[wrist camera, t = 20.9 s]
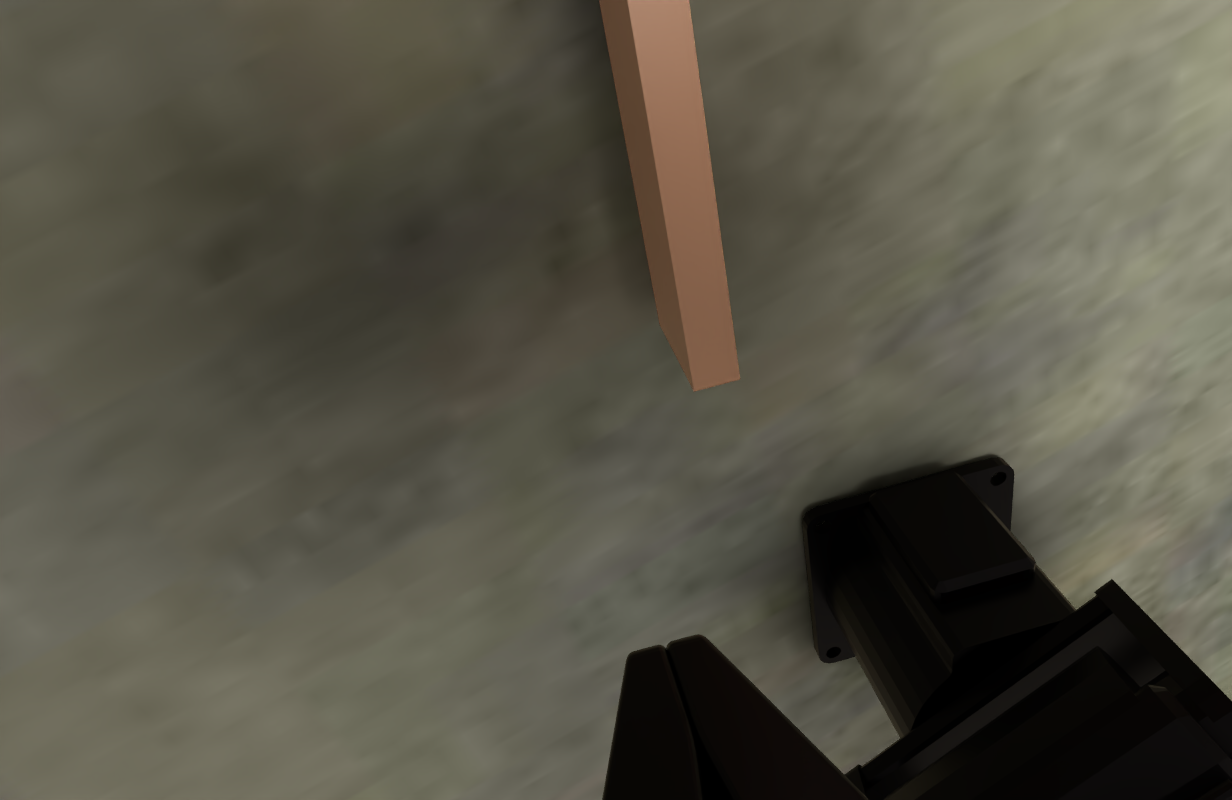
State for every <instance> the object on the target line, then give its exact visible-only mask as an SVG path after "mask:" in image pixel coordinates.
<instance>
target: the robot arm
mask: <svg viewBox="0 0 1232 800" xmlns="http://www.w3.org/2000/svg"><path fill="white" fill-rule="evenodd" d="M996 473H997V474H996ZM994 474H996V475H995V476H993V475H994ZM992 476H993V477H992ZM1013 485H1014V471H1013V469H1012V468H1011V467H1010V466H1009V465H1008V464H1007V463H1006V462H1005V461H1004V460H1003V459H1002V458H998V457H997V458H990V459H987V460H983V461H979V462H976V463H972V464H968V465H965V466H961V467H958V468H954V469H950V470H947V471H943V472H939V473H936V474H932V475H929V476H925V477H921V478H918V479H914V480H910V481H907V482H903V483H900V484H896V485H892V486H889V487H885V488H881V489H878V490H874V491H871V492H867V493H863V494H860V495H856V496H852V497H849V498H845V499H842V500H838V501H834V502H831V503H827V504H824V505H820V506H816V507H814V508H812V509H810V510H809V511H808V512H807V513H806V514H805V515H804V517H803V520H802V528H803V538H804V548H805V558H806V568H807V578H808V588H809V597H810V607H811V617H812V627H813V637H814V647H815V650H816V652H817V654H818V656H819V658H820V660H821V661H823V662H824V663H834V662H838V661H841V660H845V659H848V658H852V657H855V656H856V658H857V660H858V662H859V663H860V665H861V667H862V669H863V671H864V673H865V674H866V676H867V678H868V680H869V682H870V684H871V685H872V687H873V689H874V691H875V693H876V695H877V696H878V698H879V700H880V702H881V704H882V705H883V707H884V709H885V711H886V713H887V715H888V716H889V718H890V720H891V722H892V724H893V726H894V727H895V729H896V731H897V733H898V735H899V737H900V739H899V740H898V741H896V742H895V743H893V744H892V745H891V746H889V747H888V748H887V749H885V750H884V751H882V752H881V753H880V754H878V755H877V756H876V757H874V758H873V759H871V760H870V761H869V762H867V763H866V764H865V765H863V766H861V765H857V766H856V767H854V768H853V769H852V770H850V771H849V772H848V773H846V774H845V775H844V774H843V773H842V772H841V771H840V770H839V769H838V768H837V767H836V766H835V765H834V764H833V763H832V762H831V761H830V760H829V759H828V758H827V757H826V756H825V755H824V754H823V753H822V752H821V751H820V750H819V749H818V748H817V747H816V746H815V745H814V744H813V743H812V742H811V741H810V740H809V739H808V738H807V737H806V736H805V735H804V734H803V733H802V732H801V731H800V730H799V729H798V728H797V727H796V726H795V725H794V724H793V723H792V722H791V721H790V720H789V719H788V718H787V717H786V716H785V715H784V714H783V713H782V712H781V711H780V710H779V709H778V708H777V707H776V706H775V705H774V704H773V703H772V702H771V701H770V700H769V699H768V698H767V697H766V696H765V695H764V694H763V693H762V692H761V691H760V690H759V689H758V688H757V687H756V686H755V685H754V684H753V683H752V682H751V681H750V680H749V679H748V678H747V677H746V676H745V675H743V674H742V673H741V672H740V671H739V670H738V669H737V668H736V667H735V666H734V665H733V664H732V663H731V662H730V661H729V660H728V659H727V658H726V657H725V656H724V655H723V654H722V653H721V652H720V651H719V650H718V649H717V648H716V647H715V646H714V645H713V644H712V643H711V642H710V641H709V640H708V639H707V638H706V637H704V636H703V635H700V634H698V635H693V636H689V637H685V638H681V639H678V640H674V641H671V642H670V643H669V644H668V645H667V648H665V647H664V646H662V645H655V646H652V647H648V648H644V649H640V650H637V651H633V652H631V653H630V654H629V655H628V657H627V660H626V664H625V670H624V676H623V682H622V688H621V693H620V699H619V705H618V711H617V717H616V723H615V728H614V734H613V740H612V746H611V752H610V758H609V763H608V769H607V775H606V781H605V787H604V792H603V798H602V800H1232V701H1231V700H1230V699H1229V698H1228V697H1227V696H1226V695H1225V694H1224V693H1223V692H1222V691H1221V690H1220V689H1219V688H1218V687H1217V686H1216V685H1215V684H1214V683H1213V682H1212V681H1211V680H1210V679H1209V677H1208V676H1207V675H1206V674H1205V673H1204V672H1203V671H1202V670H1201V669H1200V668H1199V667H1198V666H1197V665H1196V664H1195V663H1194V662H1193V661H1192V660H1191V659H1190V658H1189V657H1188V656H1187V655H1186V654H1185V653H1184V652H1183V651H1182V650H1181V649H1180V648H1179V647H1178V646H1177V645H1176V644H1175V643H1174V642H1173V641H1172V640H1171V639H1170V638H1169V637H1168V636H1167V635H1166V634H1165V633H1164V632H1163V631H1162V630H1161V629H1160V627H1159V626H1158V625H1157V624H1156V623H1155V622H1154V621H1153V620H1152V619H1151V618H1150V617H1149V616H1148V615H1147V614H1146V613H1145V612H1144V611H1143V610H1142V609H1141V608H1140V607H1139V606H1138V605H1137V604H1136V603H1135V602H1134V601H1133V600H1132V599H1131V598H1130V597H1129V596H1128V595H1127V594H1126V593H1125V592H1124V591H1123V590H1122V589H1121V588H1120V587H1119V586H1118V585H1117V584H1116V583H1115V582H1114V581H1113V580H1112V579H1111V580H1110V581H1109V582H1107V583H1106V584H1105V585H1103V586H1102V587H1100V588H1099V589H1098V590H1096V591H1095V594H1096V596H1095V597H1093V598H1092V599H1091V600H1089V601H1088V602H1087V603H1085V604H1084V605H1083V606H1081V607H1080V608H1078V609H1077V610H1076V609H1075V608H1074V607H1073V606H1072V605H1071V603H1070V602H1069V601H1068V600H1067V599H1066V598H1065V597H1064V595H1063V594H1062V593H1061V592H1060V591H1059V590H1058V589H1057V588H1056V586H1055V585H1054V584H1053V583H1052V582H1051V581H1050V580H1049V578H1048V577H1047V576H1046V575H1045V574H1044V573H1043V572H1042V570H1041V569H1040V568H1039V567H1038V566H1037V565H1036V562H1035V560H1034V558H1033V557H1032V555H1031V554H1030V553H1029V552H1028V551H1027V550H1026V549H1025V548H1024V546H1023V545H1022V544H1021V543H1020V542H1019V541H1018V540H1017V539H1016V537H1015V536H1014V535H1013V534H1012V533H1011V532H1010V529H1011V514H1012V500H1013ZM821 521H824V522H823V524H821V525H819V526H816V525H817V524H818V523H819V522H821ZM666 649H667V650H666Z"/></svg>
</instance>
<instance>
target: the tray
mask: <svg viewBox="0 0 1232 800" xmlns="http://www.w3.org/2000/svg"><path fill="white" fill-rule="evenodd" d="M599 3H600V8H601V13H602V19H603V24H604V29H605V35H606V40H607V46H608V51H609V56H610V62H611V67H612V72H613V78H614V83H615V88H616V94H617V99H618V105H619V110H620V115H621V121H622V126H623V131H624V137H625V142H626V147H627V153H628V158H629V163H630V169H631V174H632V180H633V185H634V190H635V196H636V201H637V206H638V212H639V217H640V222H641V228H642V233H643V238H644V244H645V249H646V255H647V260H648V265H649V271H650V276H651V281H652V287H653V292H654V297H655V303H656V308H657V314H658V319H659V324H660V326H661V328H662V330H663V332H664V334H665V336H666V338H667V340H668V342H669V344H670V346H671V348H672V350H673V352H674V354H675V356H676V357H677V359H678V361H679V363H680V365H681V367H682V369H683V371H684V373H685V375H686V377H687V379H688V381H689V383H690V385H691V387H692V389H693V390H694V392H695V391H698V390H702V389H706V388H710V387H713V386H717V385H721V384H725V383H728V382H732V381H736V380H740V373H739V366H738V358H737V351H736V343H735V336H734V329H733V321H732V314H731V307H730V299H729V292H728V284H727V277H726V270H725V262H724V255H723V247H722V240H721V233H720V225H719V218H718V211H717V203H716V196H715V188H714V181H713V174H712V166H711V159H710V152H709V144H708V137H707V129H706V122H705V115H704V107H703V100H702V92H701V85H700V78H699V70H698V63H697V56H696V48H695V41H694V33H693V26H692V19H691V11H690V4H689V0H599Z"/></svg>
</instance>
